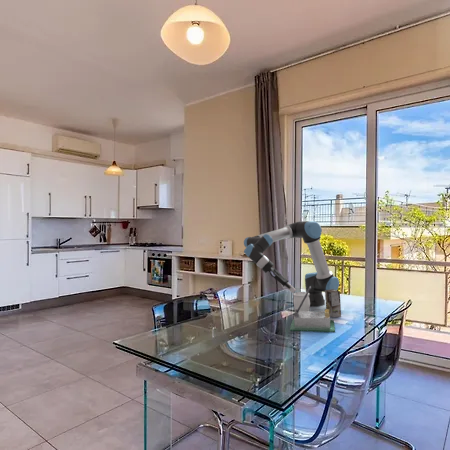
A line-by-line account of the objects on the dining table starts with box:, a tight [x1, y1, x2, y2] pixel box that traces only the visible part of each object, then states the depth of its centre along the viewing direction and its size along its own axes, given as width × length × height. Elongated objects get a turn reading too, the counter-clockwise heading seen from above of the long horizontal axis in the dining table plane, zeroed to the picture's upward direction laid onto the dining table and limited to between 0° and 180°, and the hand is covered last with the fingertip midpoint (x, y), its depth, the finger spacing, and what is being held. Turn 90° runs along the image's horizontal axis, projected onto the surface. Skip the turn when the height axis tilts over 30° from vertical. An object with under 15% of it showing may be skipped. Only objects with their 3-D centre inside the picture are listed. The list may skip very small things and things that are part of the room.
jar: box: [292, 291, 311, 313], centre depth 230 cm, size 11×10×15 cm
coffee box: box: [324, 289, 342, 318], centre depth 228 cm, size 9×6×16 cm
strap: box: [296, 286, 311, 312], centre depth 209 cm, size 18×5×1 cm
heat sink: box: [289, 308, 336, 333], centre depth 208 cm, size 25×20×9 cm
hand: (294, 291), depth 210 cm, fingers closed
